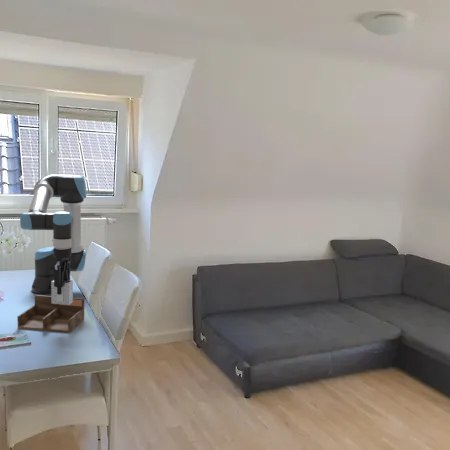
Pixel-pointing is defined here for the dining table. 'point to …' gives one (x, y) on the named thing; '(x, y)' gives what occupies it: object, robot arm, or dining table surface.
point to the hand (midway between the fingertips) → (62, 299)
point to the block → (66, 293)
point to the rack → (52, 315)
